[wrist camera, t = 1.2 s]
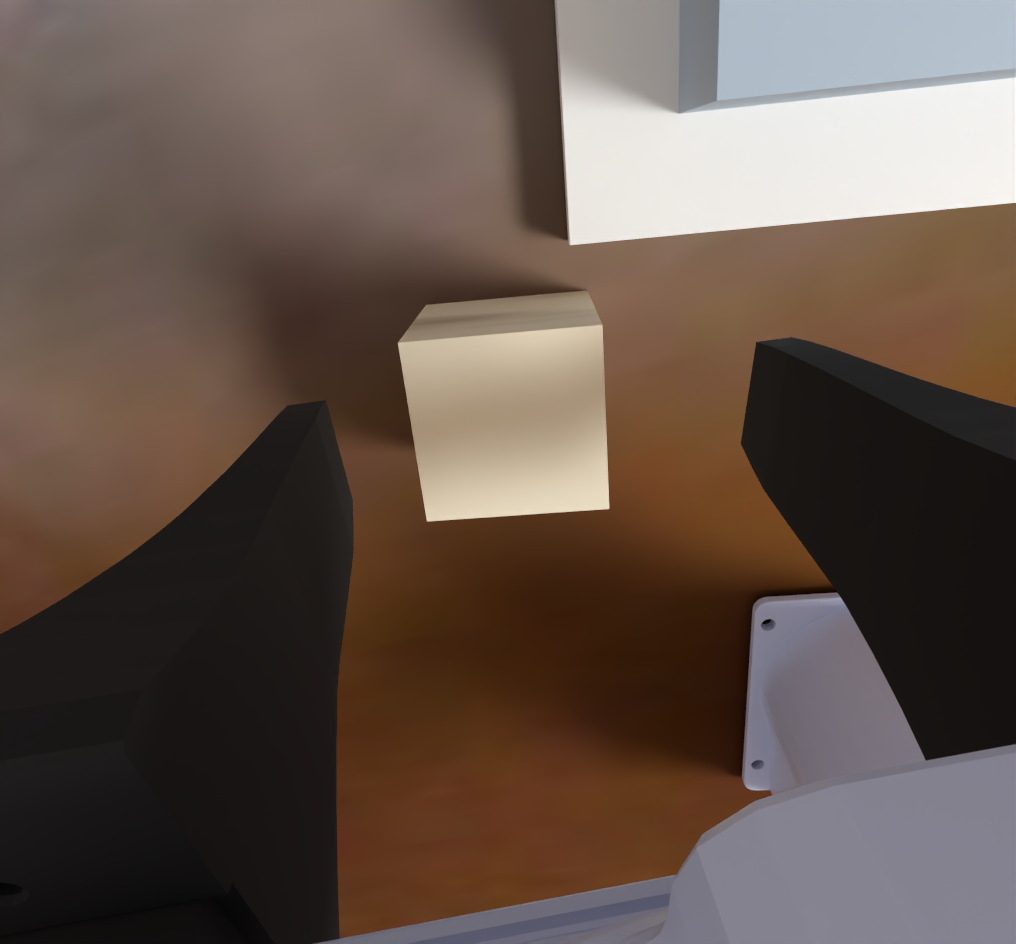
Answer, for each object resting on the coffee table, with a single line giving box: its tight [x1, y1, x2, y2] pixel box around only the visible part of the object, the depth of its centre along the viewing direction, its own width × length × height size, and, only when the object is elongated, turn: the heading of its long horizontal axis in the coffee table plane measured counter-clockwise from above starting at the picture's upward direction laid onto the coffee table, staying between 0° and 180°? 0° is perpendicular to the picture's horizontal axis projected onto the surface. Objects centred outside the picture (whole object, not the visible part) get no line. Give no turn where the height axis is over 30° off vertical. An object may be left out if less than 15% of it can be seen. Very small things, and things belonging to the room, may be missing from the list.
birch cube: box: [398, 290, 609, 521], centre depth 20 cm, size 5×5×5 cm
